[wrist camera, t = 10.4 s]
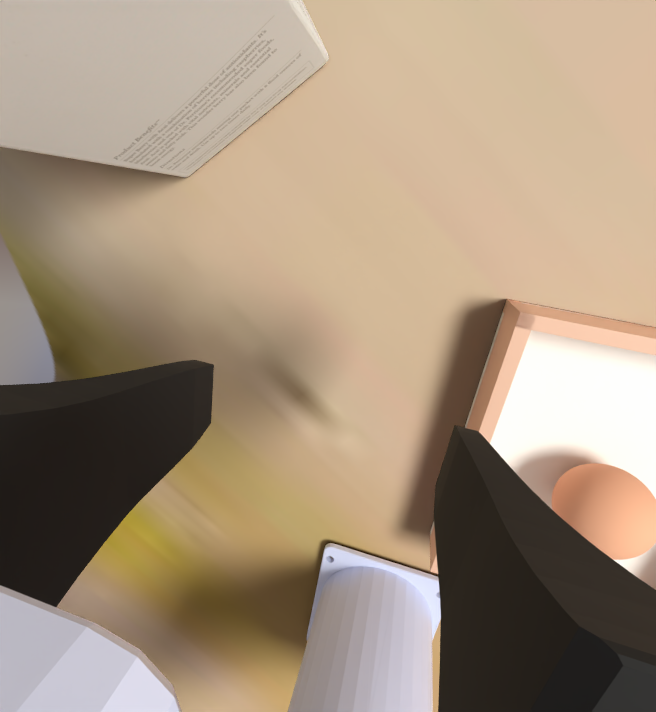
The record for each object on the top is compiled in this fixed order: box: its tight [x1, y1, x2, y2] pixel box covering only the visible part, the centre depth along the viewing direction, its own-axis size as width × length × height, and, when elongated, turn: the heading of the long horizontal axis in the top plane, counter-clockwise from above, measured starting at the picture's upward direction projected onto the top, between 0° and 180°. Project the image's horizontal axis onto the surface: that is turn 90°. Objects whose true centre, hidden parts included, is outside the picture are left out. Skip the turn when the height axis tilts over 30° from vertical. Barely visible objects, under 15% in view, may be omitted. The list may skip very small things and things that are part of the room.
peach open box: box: [430, 299, 656, 590], centre depth 18 cm, size 14×12×3 cm
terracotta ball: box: [552, 463, 656, 560], centre depth 17 cm, size 4×4×4 cm
